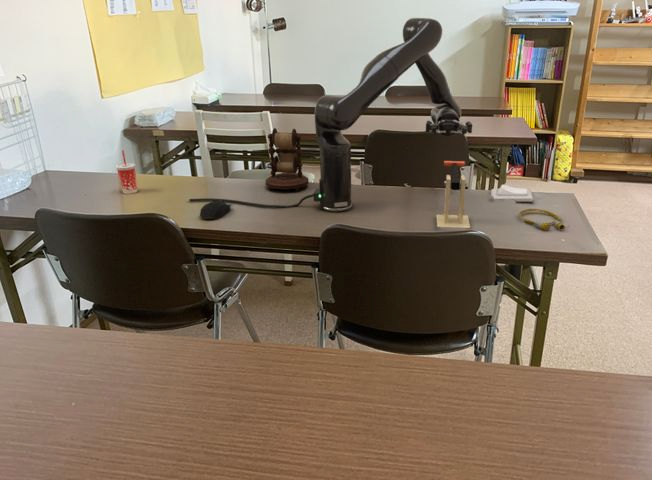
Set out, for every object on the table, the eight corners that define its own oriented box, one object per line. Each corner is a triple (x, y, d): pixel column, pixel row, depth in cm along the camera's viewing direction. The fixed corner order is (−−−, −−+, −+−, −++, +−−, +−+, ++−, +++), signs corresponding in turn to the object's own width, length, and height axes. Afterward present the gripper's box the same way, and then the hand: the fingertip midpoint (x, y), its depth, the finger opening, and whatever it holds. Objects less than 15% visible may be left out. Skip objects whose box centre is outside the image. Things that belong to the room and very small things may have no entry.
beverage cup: (135, 194, 186) (128, 152, 180) (117, 194, 186) (109, 152, 180) (142, 188, 191) (135, 148, 186) (124, 189, 192) (117, 148, 186)
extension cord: (518, 229, 154) (518, 222, 154) (517, 211, 168) (518, 204, 167) (564, 233, 152) (565, 226, 151) (560, 214, 165) (561, 207, 165)
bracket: (436, 218, 163) (438, 172, 157) (467, 219, 162) (471, 172, 156) (437, 230, 154) (439, 182, 148) (470, 231, 153) (474, 182, 147)
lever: (443, 165, 163) (444, 158, 161) (464, 166, 162) (465, 158, 161) (444, 189, 153) (444, 182, 151) (466, 190, 152) (467, 182, 151)
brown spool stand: (313, 181, 198) (310, 124, 189) (302, 194, 185) (299, 133, 176) (273, 180, 200) (269, 123, 192) (260, 192, 187) (255, 132, 179)
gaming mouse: (239, 205, 174) (238, 193, 173) (214, 221, 161) (213, 208, 160) (221, 204, 176) (220, 191, 174) (195, 219, 163) (194, 206, 162)
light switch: (491, 181, 185) (531, 181, 182) (490, 193, 187) (530, 193, 184) (491, 191, 175) (534, 191, 173) (491, 203, 177) (533, 203, 174)
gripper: (426, 109, 182) (426, 118, 167) (470, 110, 181) (474, 119, 166) (425, 132, 185) (425, 143, 170) (468, 133, 184) (472, 144, 169)
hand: (449, 131), depth 168 cm, fingers open, 8 cm apart
